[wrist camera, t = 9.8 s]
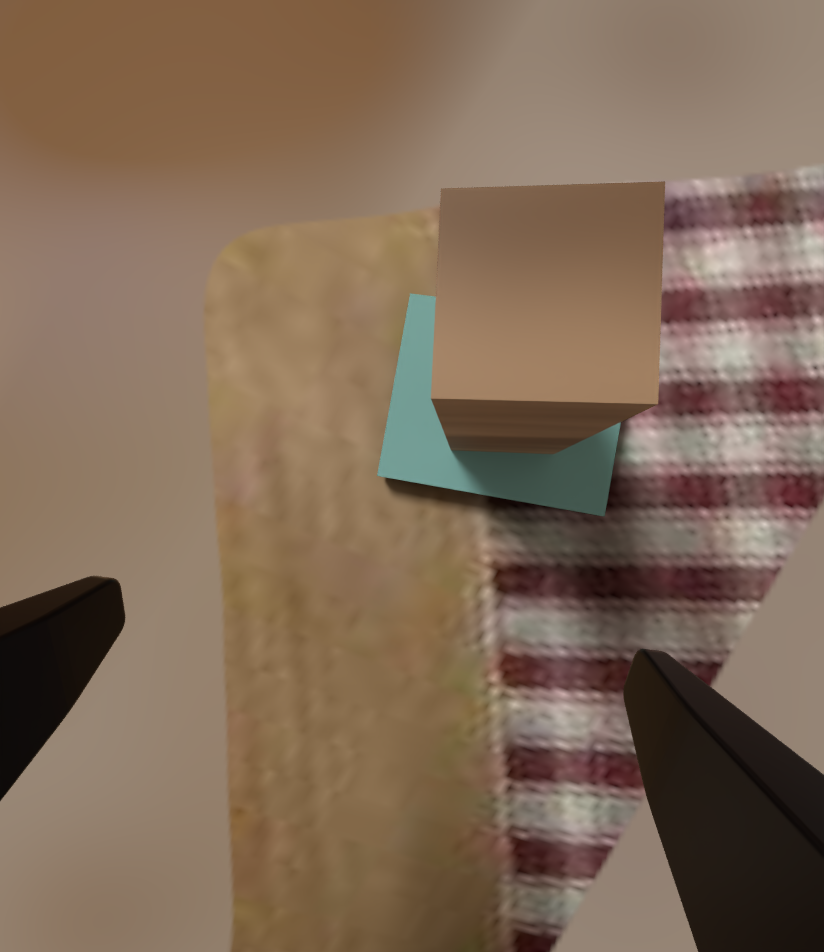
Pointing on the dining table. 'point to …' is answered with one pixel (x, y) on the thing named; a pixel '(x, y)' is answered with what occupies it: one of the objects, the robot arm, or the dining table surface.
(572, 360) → the walnut block
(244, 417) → the dining table surface
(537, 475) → the mat
